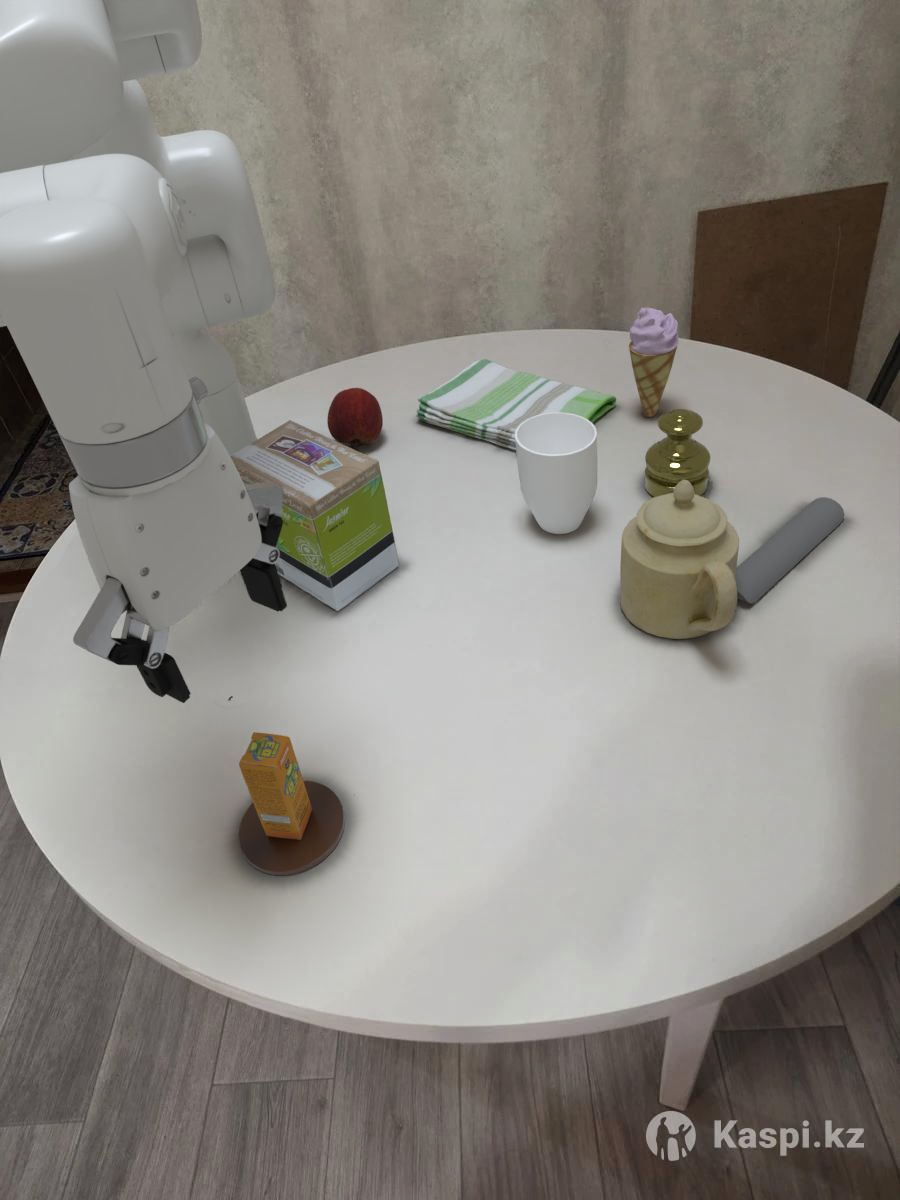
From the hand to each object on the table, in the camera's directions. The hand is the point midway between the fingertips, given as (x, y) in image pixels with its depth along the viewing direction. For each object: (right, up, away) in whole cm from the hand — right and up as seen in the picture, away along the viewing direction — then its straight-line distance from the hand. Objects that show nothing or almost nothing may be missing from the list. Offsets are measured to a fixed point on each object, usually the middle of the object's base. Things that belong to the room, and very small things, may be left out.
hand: (223, 646), depth 61 cm
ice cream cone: (+43, +28, +56) cm, 76 cm away
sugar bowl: (+40, +2, +27) cm, 48 cm away
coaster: (+3, -16, +13) cm, 21 cm away
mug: (+29, +13, +42) cm, 53 cm away
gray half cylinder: (+51, +8, +32) cm, 61 cm away
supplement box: (+3, -16, +13) cm, 20 cm away
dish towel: (+25, +29, +60) cm, 71 cm away
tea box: (+2, +7, +39) cm, 40 cm away
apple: (+4, +25, +59) cm, 64 cm away
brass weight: (+43, +17, +43) cm, 63 cm away
